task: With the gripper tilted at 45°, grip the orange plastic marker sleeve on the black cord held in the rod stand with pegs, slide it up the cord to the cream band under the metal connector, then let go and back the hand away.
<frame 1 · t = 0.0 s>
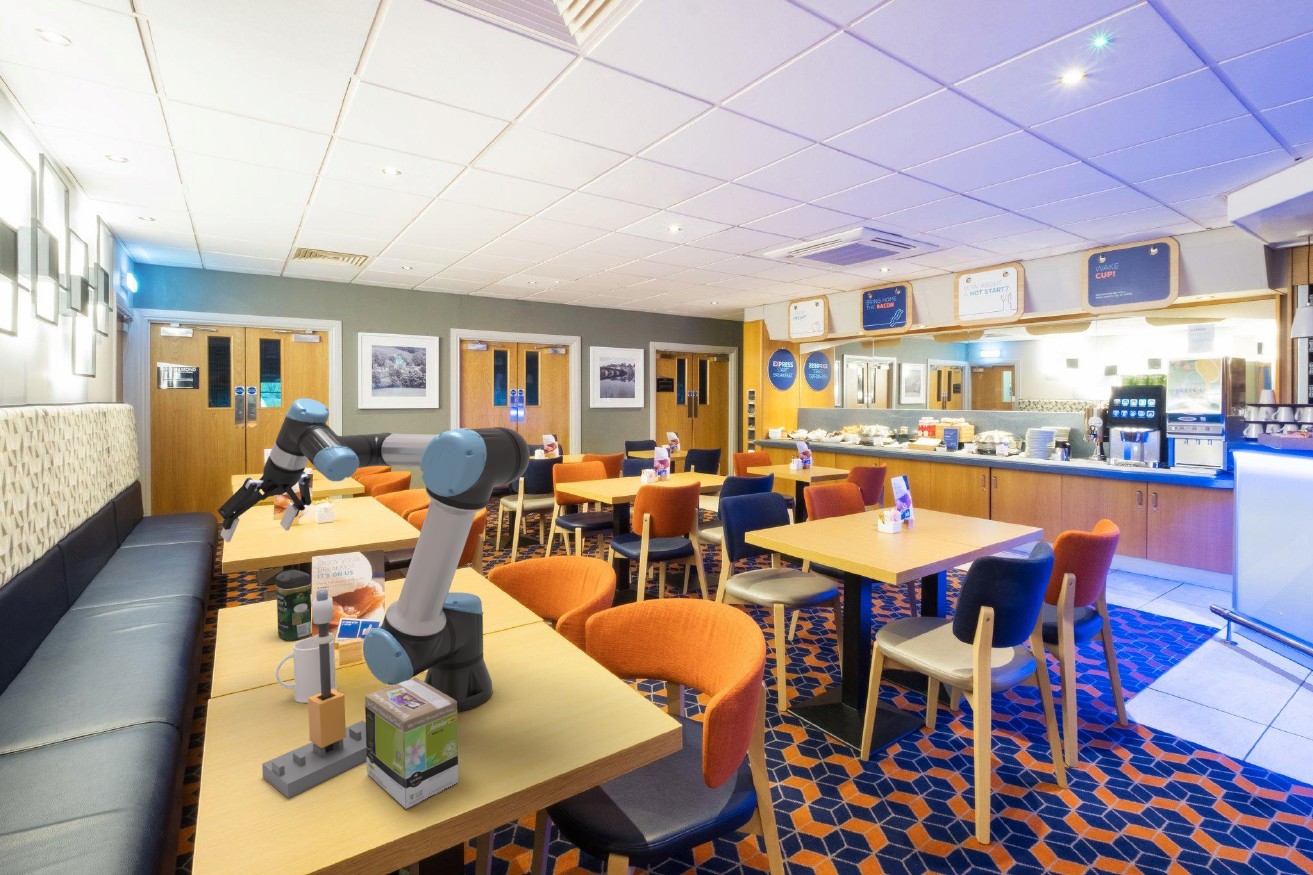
hand: (255, 532, 143), 36 cm above the table, tool tilted 35°, fingers open, 13 cm apart
marker sleeve: (327, 717, 112), point 8 cm above the table, slide at 0.0 cm
coffee jar: (295, 636, 174), on the table
mug: (307, 697, 138), on the table
tea box: (412, 779, 107), on the table
rod stand with pegs: (328, 762, 112), on the table
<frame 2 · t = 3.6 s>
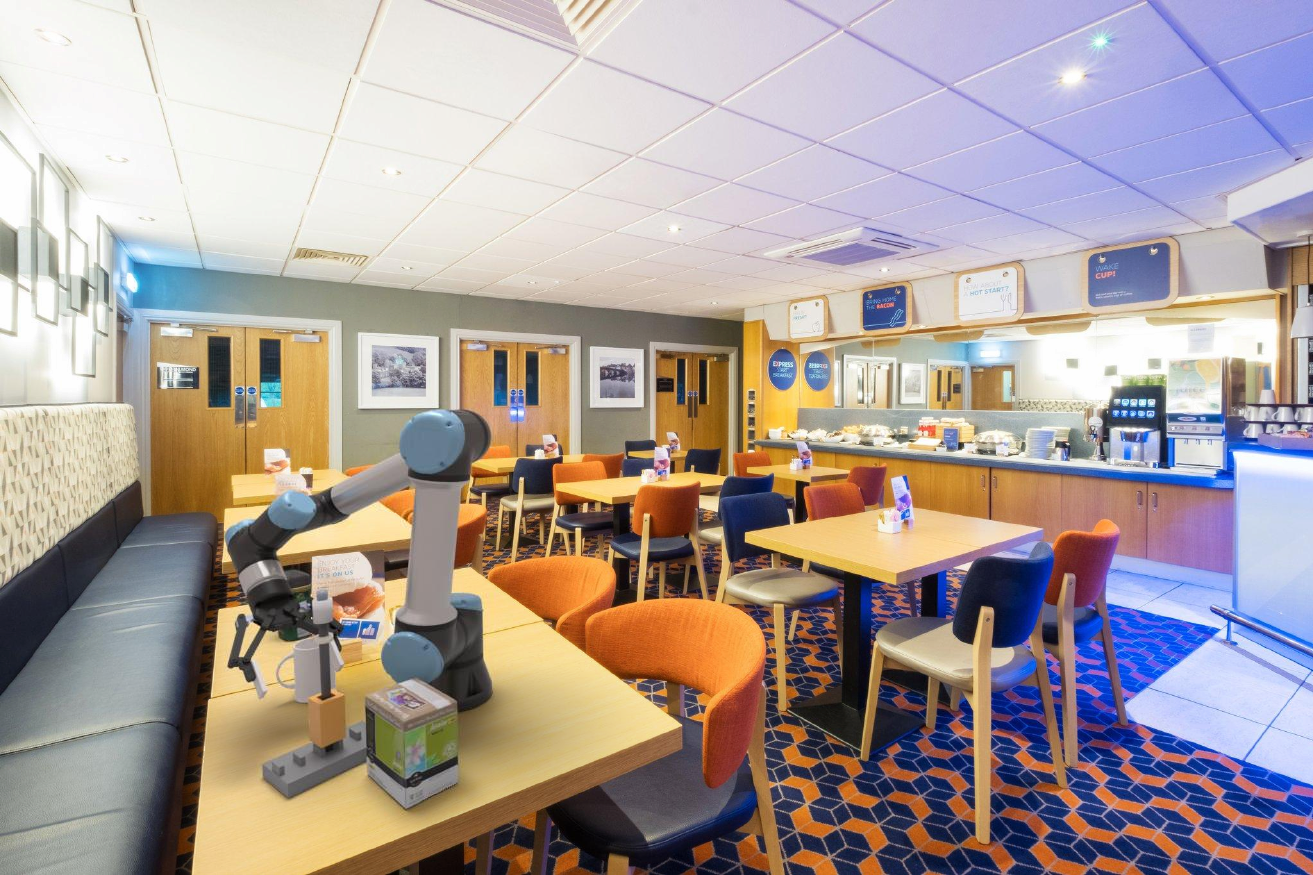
hand: (303, 681, 115), 14 cm above the table, tool tilted 45°, fingers open, 13 cm apart
nothing on the table moved.
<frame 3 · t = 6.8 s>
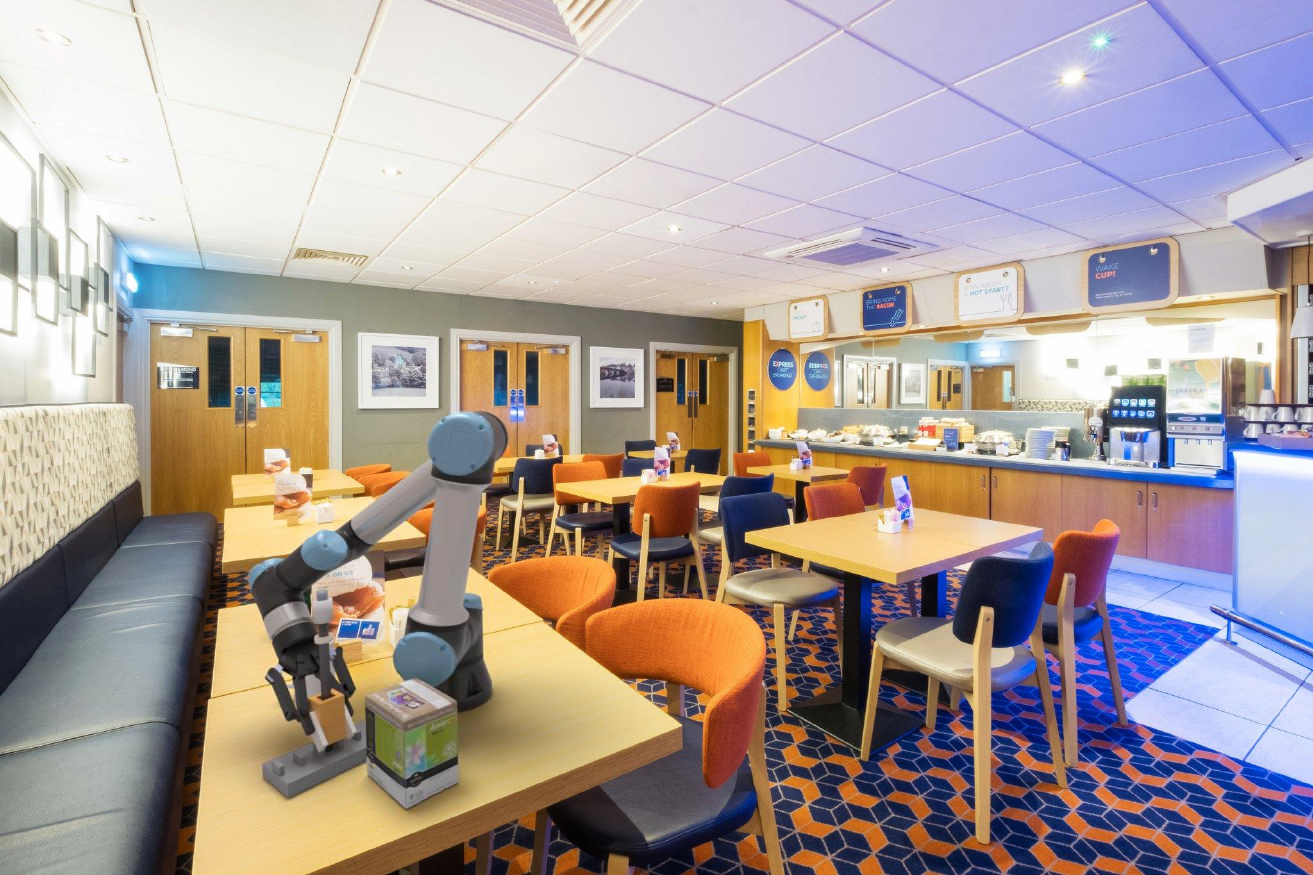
hand: (337, 741, 110), 5 cm above the table, tool tilted 45°, fingers closed on marker sleeve, 4 cm apart
marker sleeve: (327, 717, 112), point 8 cm above the table, slide at 0.0 cm, touching gripper
everything else where it was.
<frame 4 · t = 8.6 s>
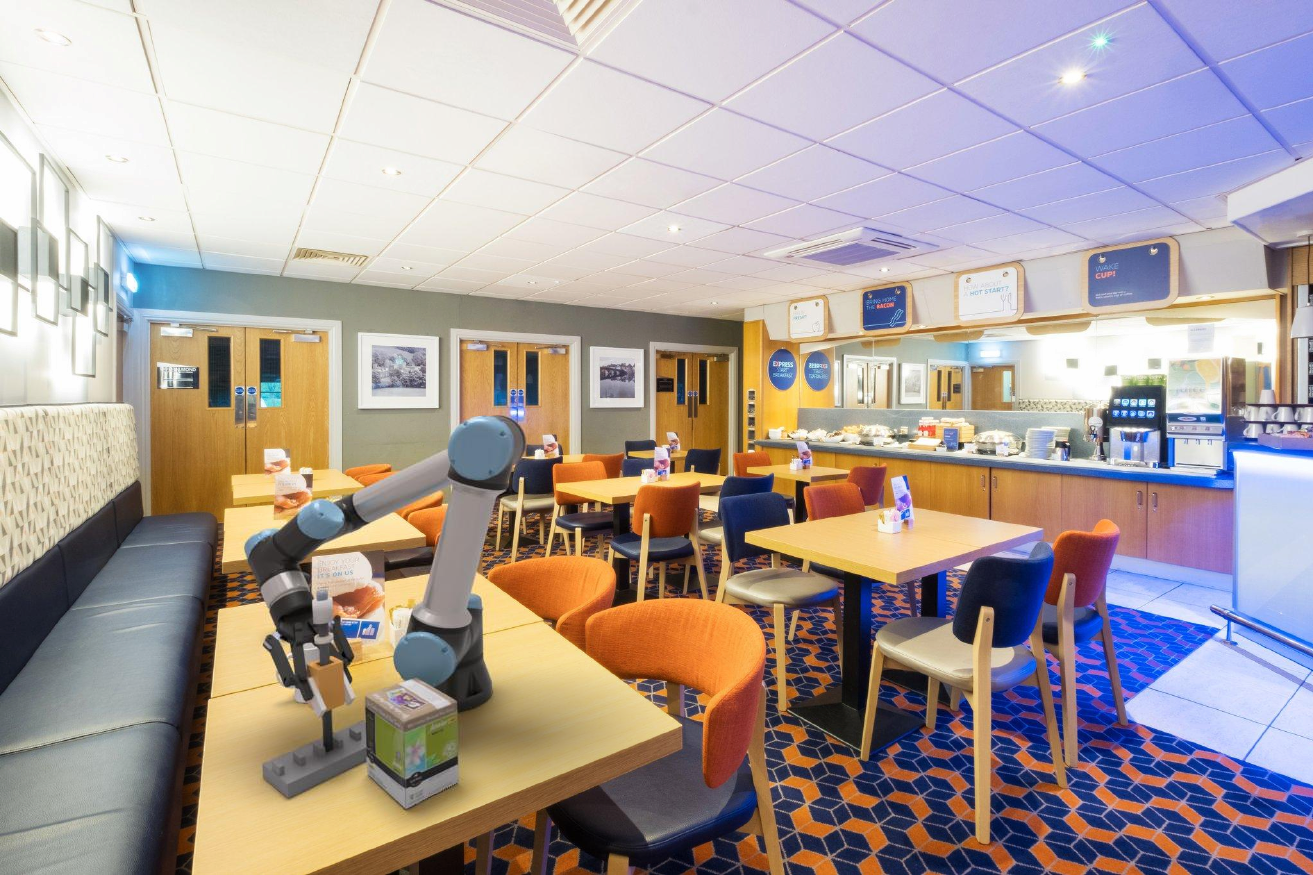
hand: (336, 707, 109), 12 cm above the table, tool tilted 45°, fingers closed on marker sleeve, 4 cm apart
marker sleeve: (325, 684, 111), point 15 cm above the table, slide at 6.3 cm, touching gripper
everything else where it was.
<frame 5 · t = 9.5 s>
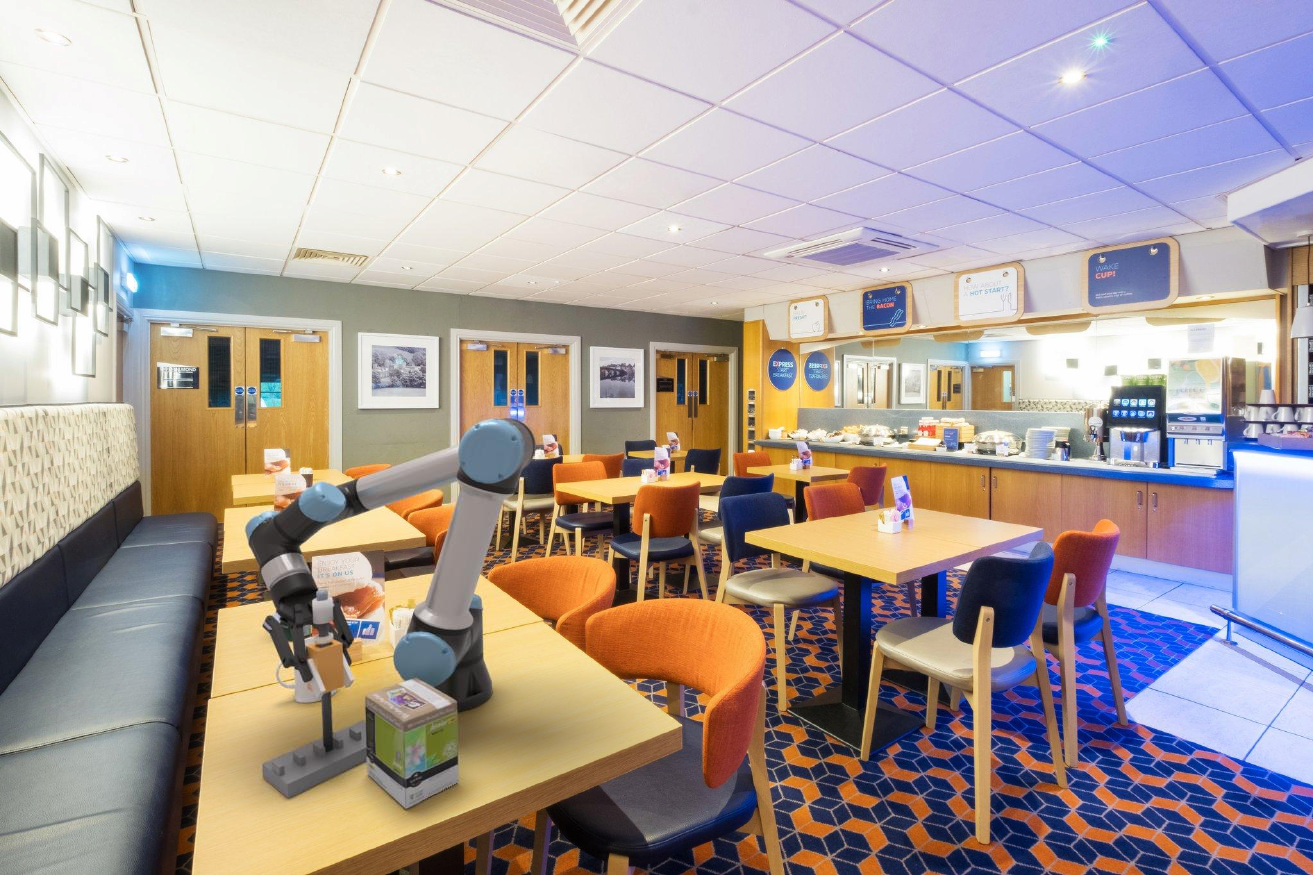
hand: (335, 689, 109), 15 cm above the table, tool tilted 45°, fingers closed on marker sleeve, 4 cm apart
marker sleeve: (325, 665, 111), point 18 cm above the table, slide at 9.7 cm, touching gripper
everything else where it was.
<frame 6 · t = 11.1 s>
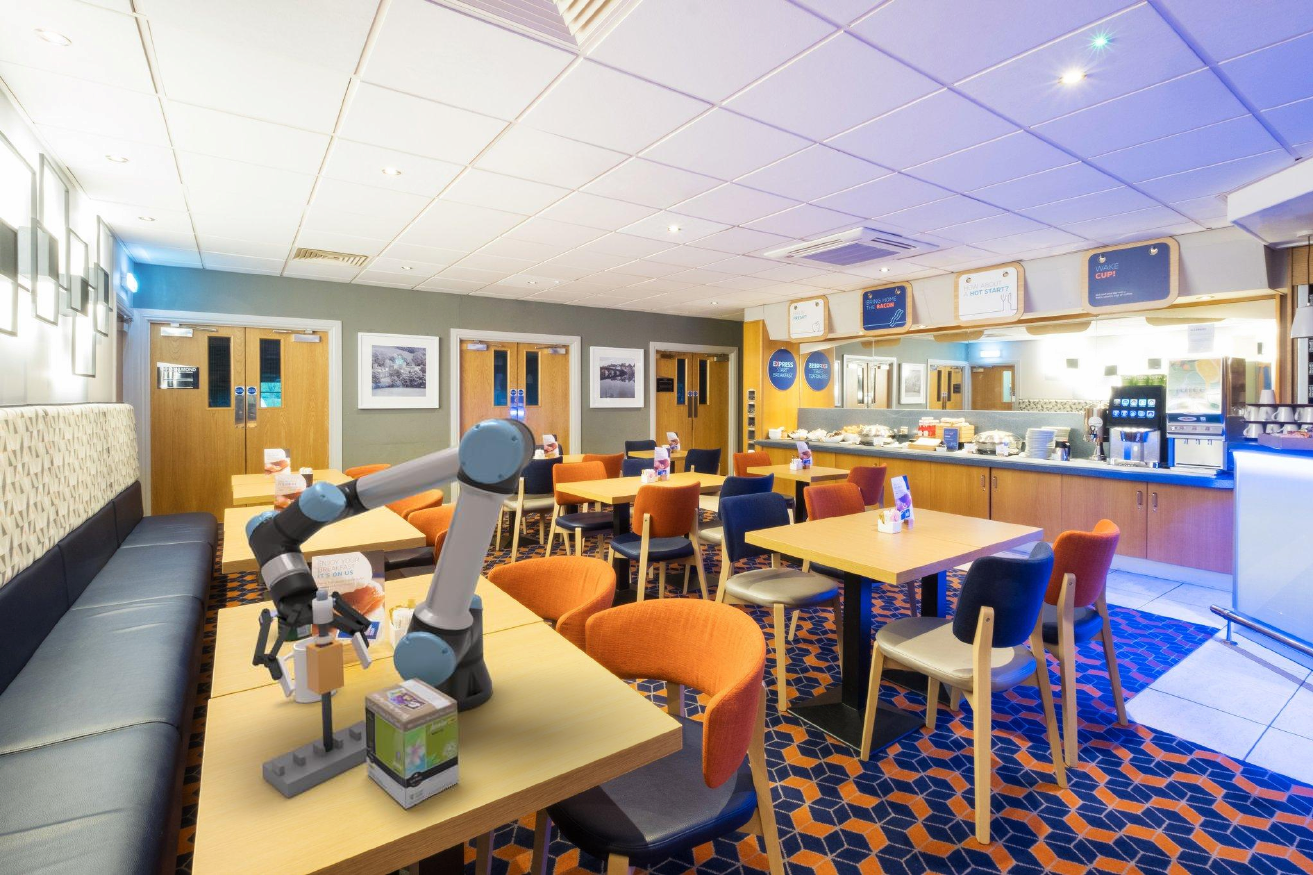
hand: (331, 678, 110), 16 cm above the table, tool tilted 45°, fingers open, 13 cm apart
marker sleeve: (325, 665, 111), point 18 cm above the table, slide at 9.7 cm
everything else where it was.
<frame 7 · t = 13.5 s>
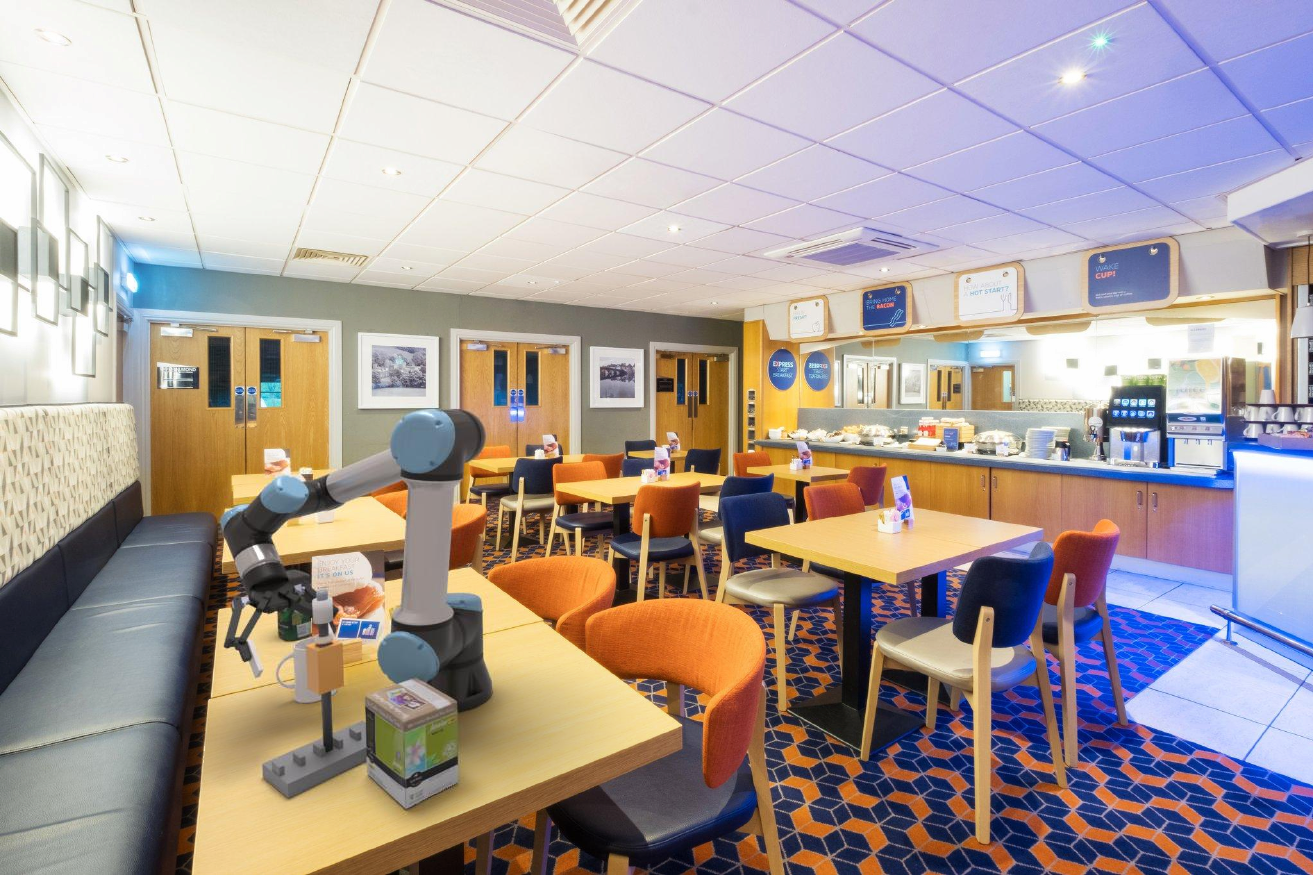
hand: (298, 661, 117), 16 cm above the table, tool tilted 45°, fingers open, 13 cm apart
nothing on the table moved.
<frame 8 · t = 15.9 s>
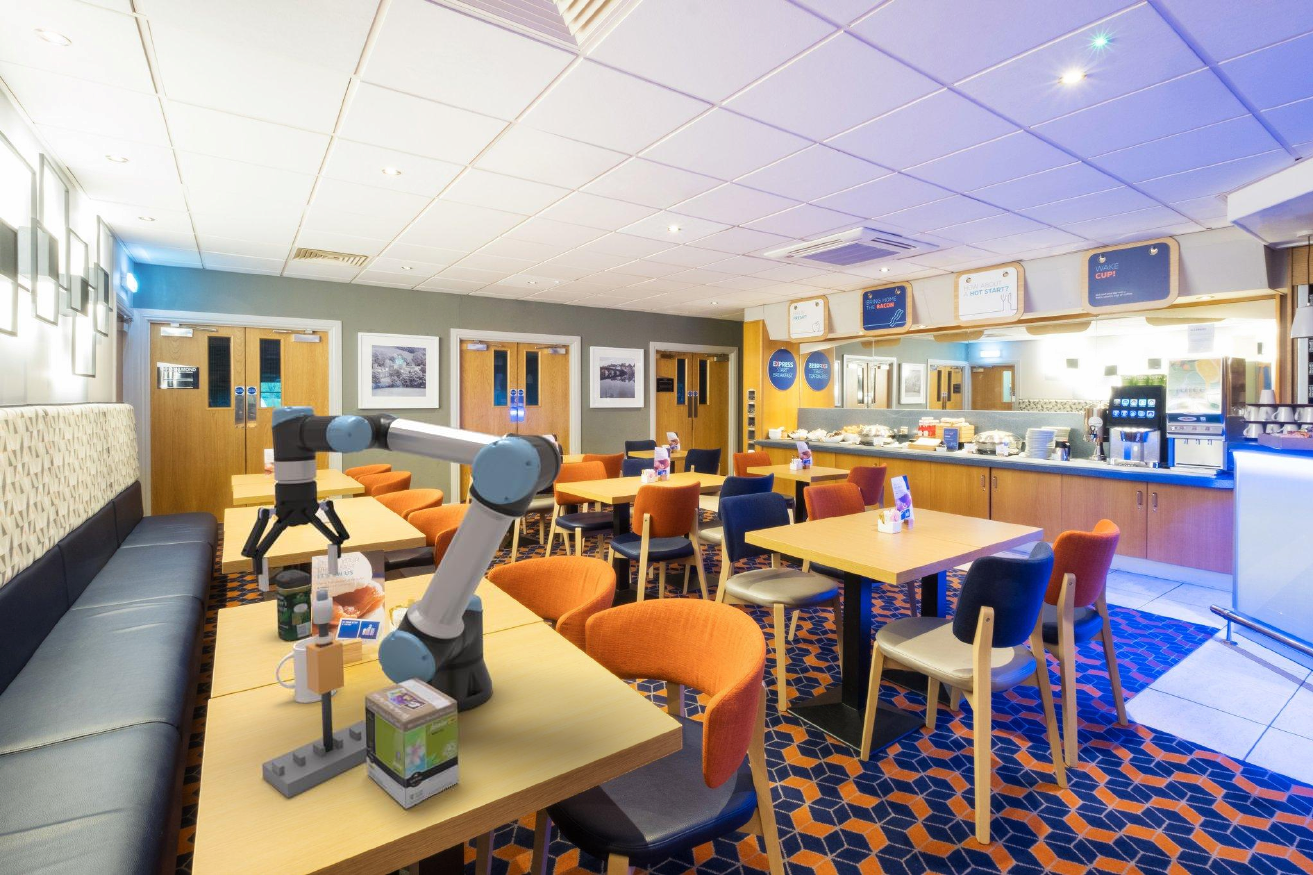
hand: (300, 581, 128), 29 cm above the table, tool pointing down, fingers open, 13 cm apart
nothing on the table moved.
at the end: marker sleeve slide at 9.7 cm; the gripper is holding nothing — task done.
